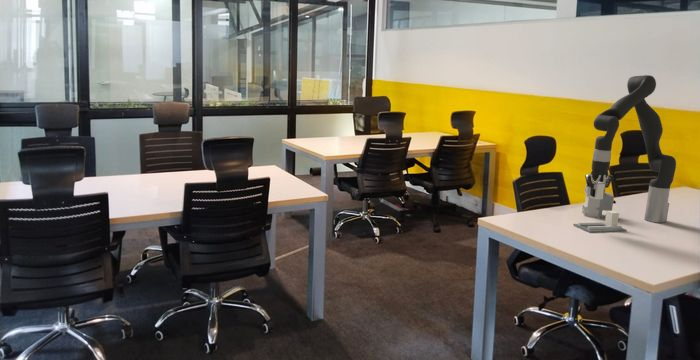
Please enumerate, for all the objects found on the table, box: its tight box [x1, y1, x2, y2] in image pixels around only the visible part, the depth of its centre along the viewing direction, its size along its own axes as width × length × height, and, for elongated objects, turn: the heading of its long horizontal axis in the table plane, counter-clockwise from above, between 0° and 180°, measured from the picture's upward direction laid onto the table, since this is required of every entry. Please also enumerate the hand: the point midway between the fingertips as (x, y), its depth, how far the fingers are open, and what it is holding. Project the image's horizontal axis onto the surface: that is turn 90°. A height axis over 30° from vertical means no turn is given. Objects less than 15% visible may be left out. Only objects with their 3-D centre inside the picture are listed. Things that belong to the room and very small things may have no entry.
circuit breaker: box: [581, 183, 617, 218], centre depth 308 cm, size 8×14×15 cm, turn 78°
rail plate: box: [573, 210, 628, 234], centre depth 284 cm, size 20×12×8 cm, turn 106°
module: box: [590, 182, 605, 199], centre depth 280 cm, size 4×5×7 cm
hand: (596, 196), depth 280 cm, fingers closed on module, 3 cm apart
